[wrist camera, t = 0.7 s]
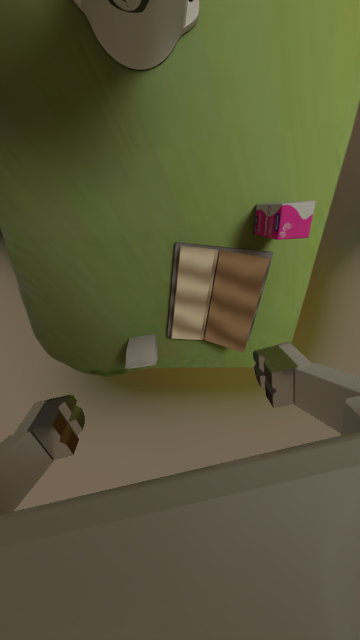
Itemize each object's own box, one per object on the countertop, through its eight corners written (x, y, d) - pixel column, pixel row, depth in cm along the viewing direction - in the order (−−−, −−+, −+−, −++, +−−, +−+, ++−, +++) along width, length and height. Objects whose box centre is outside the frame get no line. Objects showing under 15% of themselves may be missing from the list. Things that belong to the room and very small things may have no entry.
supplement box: (254, 204, 45) (282, 202, 35) (282, 202, 45) (318, 199, 35) (252, 234, 47) (277, 240, 37) (278, 232, 48) (311, 237, 37)
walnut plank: (221, 250, 47) (219, 250, 46) (269, 257, 44) (269, 258, 42) (206, 337, 56) (204, 340, 55) (244, 349, 53) (243, 352, 52)
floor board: (175, 242, 47) (176, 243, 44) (271, 251, 49) (276, 253, 47) (167, 335, 57) (167, 340, 54) (247, 338, 59) (251, 343, 57)
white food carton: (129, 338, 56) (123, 361, 47) (155, 334, 56) (154, 357, 47) (132, 349, 58) (127, 374, 49) (157, 346, 58) (157, 370, 49)
